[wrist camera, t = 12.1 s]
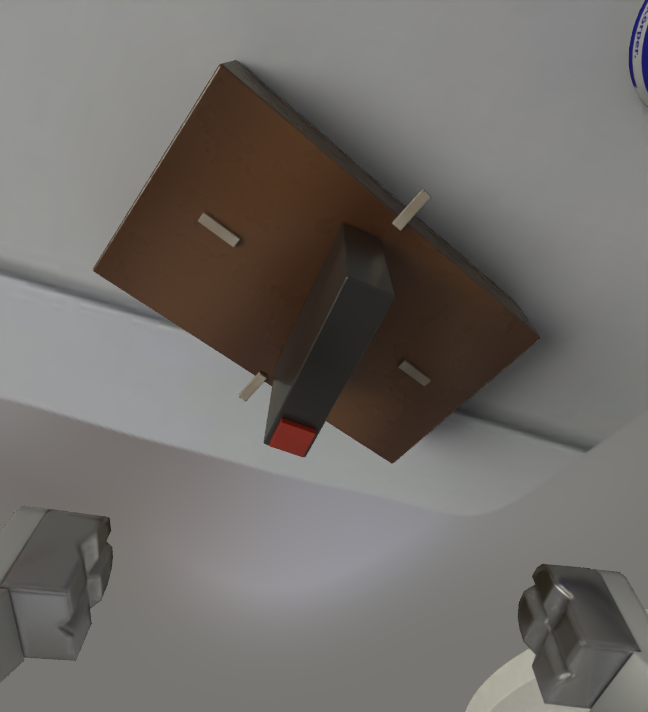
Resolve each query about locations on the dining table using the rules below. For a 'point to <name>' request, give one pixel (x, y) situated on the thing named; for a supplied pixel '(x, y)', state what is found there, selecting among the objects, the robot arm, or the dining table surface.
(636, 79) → the beverage can
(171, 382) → the dining table surface
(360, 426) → the control panel
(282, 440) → the red-tipped grey bar
